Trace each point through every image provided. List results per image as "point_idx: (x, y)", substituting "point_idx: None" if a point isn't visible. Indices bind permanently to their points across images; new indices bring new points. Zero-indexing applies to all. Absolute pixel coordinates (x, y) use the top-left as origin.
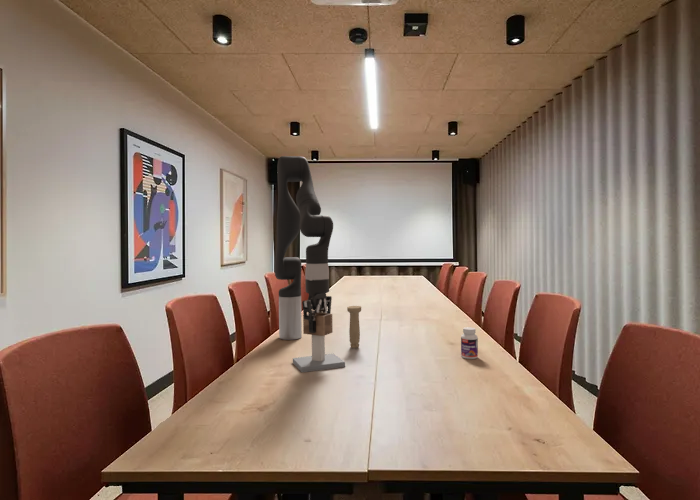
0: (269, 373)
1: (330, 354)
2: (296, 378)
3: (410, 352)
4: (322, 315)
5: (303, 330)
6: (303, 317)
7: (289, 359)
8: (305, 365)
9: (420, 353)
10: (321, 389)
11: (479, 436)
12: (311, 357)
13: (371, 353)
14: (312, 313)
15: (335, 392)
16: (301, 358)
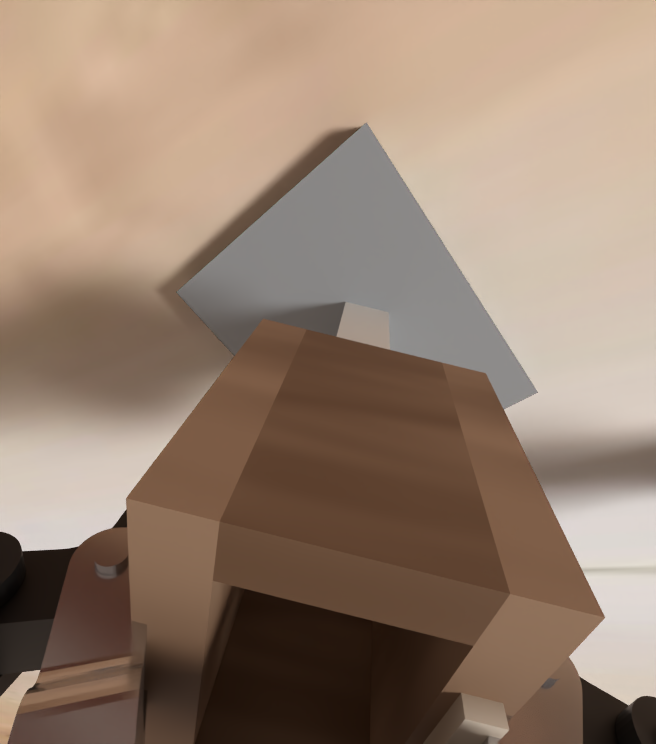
0: (80, 66)
1: (506, 381)
2: (92, 293)
3: (637, 671)
4: (400, 709)
5: (252, 336)
6: (161, 458)
7: (463, 39)
8: (219, 302)
9: (615, 695)
10: (39, 438)
11: (16, 703)
12: (410, 276)
13: (633, 546)
14: (412, 626)
15: (44, 485)
16: (368, 209)
